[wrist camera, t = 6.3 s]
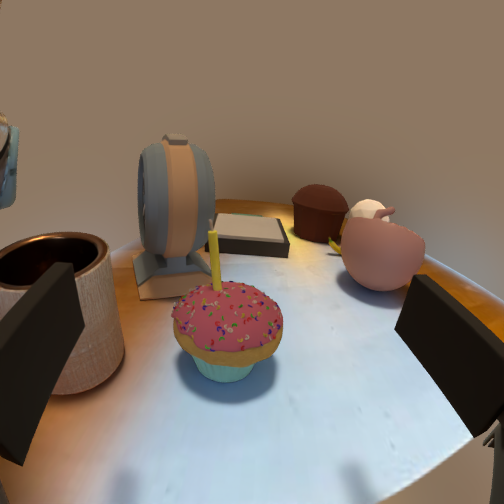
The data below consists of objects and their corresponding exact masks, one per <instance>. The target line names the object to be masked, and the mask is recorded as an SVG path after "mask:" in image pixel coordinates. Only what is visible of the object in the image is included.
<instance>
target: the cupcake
mask: <svg viewBox="0 0 504 504" xmlns="http://www.w3.org/2000/svg"><path fill="white" fill-rule="evenodd" d="M209 223H210V229H211V231H208V240H209V251H210V262H211V273H212V283H208V284H206V285H202V286H201V285H200V286H196V287H195V288H194V289H192V288H190V289H189V293H186V294H184V295H183V296H181V298H180V299H179V301H178V302H177V303H176V302H175V303H176V304H175V303H174V306H175V305H176V306H175V307H173V308H174V310H172V314H171V317H174V323H173V328H174V335H175V338H176V339H177V341H178V343H179V345H180V346H181V347H182V349H183V350H185V351H186V352H188V353H189V354H191V355H192V357H193V359H194V361H195V363H196V366H197V368H198V370H199V371H200V372H201V373H202V374H203V375H204V376H205V377H207V378H209V379H211V380H214V381H217V382H235V381H238V380H241V379H243V378H244V377H246V376H247V375H248V374H249V373H250V372H251V370H252V368H253V366H254V365H255V363H256V362H259V361H261V360H264V359H267V358H269V357H270V356H271V355H272V354H273V353H274V352H275V351H276V349H277V348H278V346H279V343H280V341H281V338H282V332H283V316H282V313H281V310H280V308H279V306H278V305H277V303H276V302H274V301H273V299H272V300H271V299H270V298H269V296H266V295H265V293H262V292H261V291H260V290H258V289H256V288H255V287H254V286H249V285H245V284H244V283H235V282H233V281H229V282H223V281H221V272H220V261H219V248H218V235H217V231H216V230H213V224H212V220H211V219H209ZM191 289H192V290H191ZM190 290H191V291H190Z"/></svg>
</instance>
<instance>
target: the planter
mask: <svg viewBox="0 0 504 504" xmlns="http://www.w3.org/2000/svg"><path fill="white" fill-rule="evenodd" d="M55 262H62V263H73V269H74V275H75V280H76V286H77V291H78V296H79V301H80V306H81V310H82V314H83V319H84V323H85V328H84V330H83V332H82V334H81V335H80V337H79V339H78V341H77V343H76V345H75V347H74V349H73V350H72V352H71V354H70V356H69V358H68V360H67V362H66V364H65V366H64V368H63V370H62V372H61V374H60V376H59V379H58V381H57V383H56V385H55V387H54V389H53V391H52V394H53V395H71V394H77V393H81V392H84V391H87V390H89V389H92V388H94V387H96V386H98V385H99V384H101V383H102V382H104V381H105V380H106V379H108V378H109V377H110V376H111V375H112V374H113V373H114V372H115V370H116V369H117V368H118V366H119V364H120V362H121V360H122V357H123V353H124V340H123V335H122V329H121V324H120V319H119V314H118V308H117V303H116V297H115V290H114V284H113V276H112V268H111V259H110V250H109V246H108V244H107V243H106V242H105V241H104V240H103V239H101V238H99V237H97V236H95V235H91V234H87V233H81V232H54V233H47V234H41V235H37V236H32V237H29V238H26V239H23V240H20V241H17V242H15V243H13V244H11V245H9V246H7V247H5V248H3V249H2V250H0V321H1V319H2V318H3V317H4V316H5V315H6V314H7V312H8V311H9V310H10V309H11V308H12V307H13V306H14V305H15V303H16V302H17V301H18V300H19V299H20V298H21V297H22V296H23V295H24V294H25V293H26V292H27V290H28V289H29V288H30V287H31V286H32V285H33V284H34V283H35V282H36V281H37V280H38V279H39V278H40V277H41V276H42V275H43V274H44V273H45V272H46V271H47V270H48V269H49V268H50V267H51V266H52V265H53V264H54V263H55Z"/></svg>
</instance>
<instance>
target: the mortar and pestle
mask: <svg viewBox="0 0 504 504" xmlns="http://www.w3.org/2000/svg"><path fill="white" fill-rule="evenodd" d="M394 212H395V208H394V207H389V208H386V209H378V210H377V211H376V213H375V215H374V217H373V219H369V218H363V217H354V218H351V219H349V220H348V222H347V223H346V226H345V228H344V231H343V234H342V238H341V255H342V259H343V262H344V265H345V267H346V269H347V271H348V272H349V274H350V275H351V276H352V277H353V278H354V279H355V280H356V281H357V282H358V283H359V284H361V285H362V286H364V287H366V288H369V289H372V290H376V291H391V290H395V289H398V288H400V287H402V286H404V285H405V284H407V283H408V282H409V281H410V280H411V279H412V277H413V275H416V274H417V272H418V271H419V269H420V267H421V265H422V262H423V259H424V254H425V242H424V240H423V239H422V238H421V237H420V236H419V235H417V234H415V233H414V232H413V231H409V230H408V229H407V228H406V227H402V226H399V225H397V224H395V223H390V222H387V221H383V220H381V219H382V218H383V217H385V216H388V215H391V214H393V213H394Z"/></svg>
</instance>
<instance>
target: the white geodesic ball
mask: <svg viewBox="0 0 504 504" xmlns="http://www.w3.org/2000/svg"><path fill="white" fill-rule="evenodd" d="M378 209H385V207H384V206H382V204H381V203H380V202H377V201H374V200H369V199H366V200H363V201H360V202H358V203H357V204H356V205H355V206H354V207H353V208H352V209H351V210H350V214H349V218H348V220H349V219H351V218H354V217H363V218H369V219H373V217H374V215H375V213H376V211H377V210H378ZM381 220H383V221H387V222H389V216H385V217H383V218H382V219H381Z"/></svg>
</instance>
